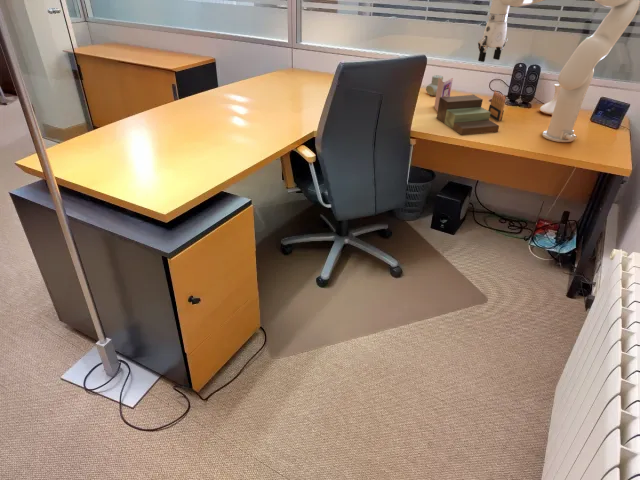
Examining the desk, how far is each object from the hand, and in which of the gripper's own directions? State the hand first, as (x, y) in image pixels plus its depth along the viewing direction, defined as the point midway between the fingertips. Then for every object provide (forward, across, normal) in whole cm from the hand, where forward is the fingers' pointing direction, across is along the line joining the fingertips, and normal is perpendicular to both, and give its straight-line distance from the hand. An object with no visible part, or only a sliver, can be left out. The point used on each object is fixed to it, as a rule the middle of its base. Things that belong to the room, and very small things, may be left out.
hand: (488, 60), depth 195 cm
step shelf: (+26, -12, -5) cm, 30 cm away
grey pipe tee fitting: (+26, +10, +40) cm, 49 cm away
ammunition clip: (+27, +8, -4) cm, 28 cm away
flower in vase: (+27, +39, -14) cm, 49 cm away
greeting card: (+26, -8, +19) cm, 33 cm away
